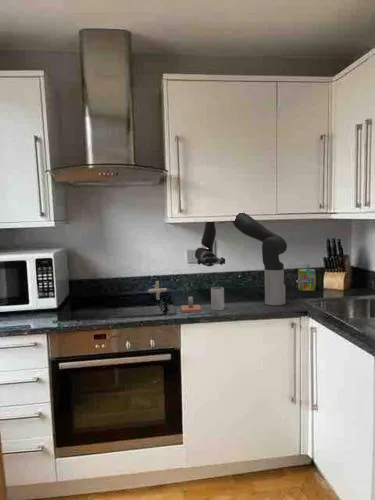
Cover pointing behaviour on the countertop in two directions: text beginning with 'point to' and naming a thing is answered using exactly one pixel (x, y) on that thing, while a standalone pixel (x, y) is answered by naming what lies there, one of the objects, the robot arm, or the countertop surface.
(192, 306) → the shaft block
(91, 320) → the countertop surface
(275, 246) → the robot arm
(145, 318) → the countertop surface
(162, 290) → the pipe connector
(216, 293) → the grey cylinder
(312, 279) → the chalk box
